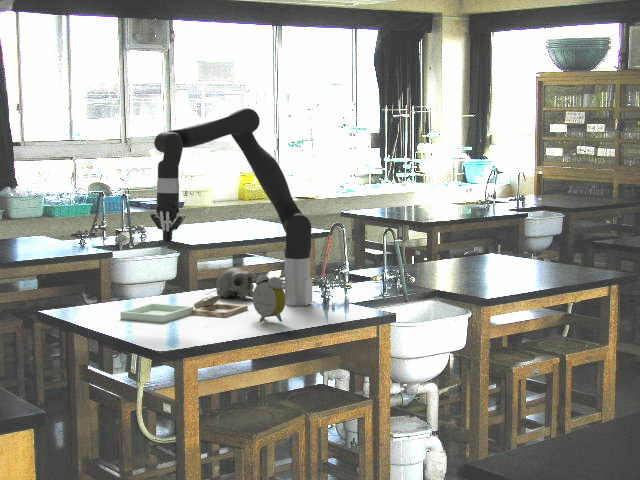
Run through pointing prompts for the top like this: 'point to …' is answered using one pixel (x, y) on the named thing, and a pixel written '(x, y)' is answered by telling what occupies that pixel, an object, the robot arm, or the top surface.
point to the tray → (156, 313)
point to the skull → (235, 283)
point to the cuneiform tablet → (207, 301)
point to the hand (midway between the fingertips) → (167, 242)
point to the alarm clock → (269, 297)
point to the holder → (234, 308)
